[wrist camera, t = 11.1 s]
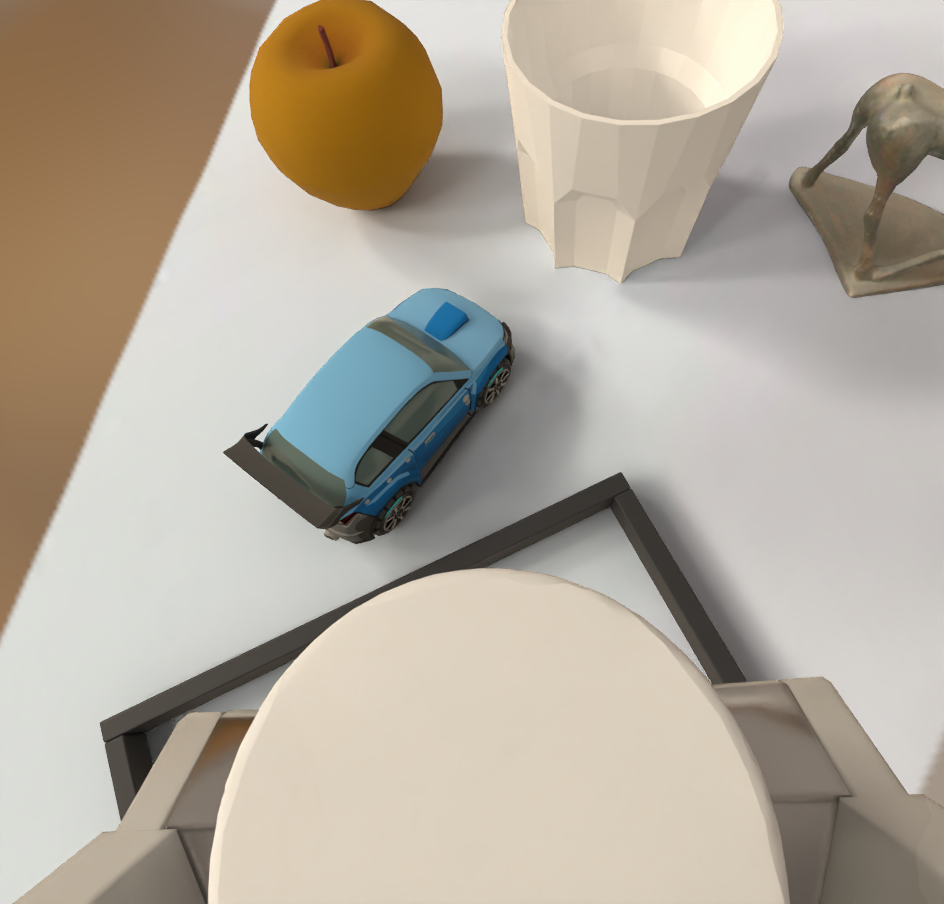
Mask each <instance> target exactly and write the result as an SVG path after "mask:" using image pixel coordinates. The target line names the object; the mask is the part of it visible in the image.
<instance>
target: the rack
mask: <svg viewBox="0 0 944 904" xmlns="http://www.w3.org/2000/svg"><path fill="white" fill-rule="evenodd" d="M610 506H611V509H612V511H613V513H614V515H615V516H616V518H617V520H618V522H619V523H620V525H621V527H622V528H623V530H624V532H625V534H626V535H627V537H628V539H629V541H630V542H631V544H632V546H633V547H634V549H635V551H636V553H637V554H638V556H639V558H640V560H641V561H642V563H643V565H644V566H645V568H646V570H647V572H648V573H649V575H650V577H651V579H652V580H653V582H654V584H655V585H656V587H657V589H658V591H659V592H660V594H661V596H662V598H663V599H664V601H665V603H666V604H667V606H668V608H669V610H670V611H671V613H672V615H673V617H674V618H675V620H676V622H677V623H678V625H679V627H680V629H681V630H682V632H683V634H684V636H685V637H686V639H687V641H688V642H689V644H690V646H691V648H692V649H693V651H694V653H695V655H696V656H697V658H698V660H699V661H700V663H701V665H702V667H703V668H704V670H705V672H706V674H707V675H708V677H709V679H710V680H711V682H712V684H724V683H739V682H747V681H746V679H745V677H744V676H743V674H742V672H741V671H740V669H739V667H738V666H737V664H736V662H735V661H734V659H733V657H732V656H731V654H730V652H729V651H728V649H727V647H726V646H725V644H724V642H723V641H722V639H721V637H720V636H719V634H718V632H717V631H716V629H715V627H714V626H713V624H712V622H711V621H710V619H709V617H708V616H707V614H706V612H705V611H704V609H703V607H702V606H701V604H700V602H699V601H698V599H697V597H696V596H695V594H694V592H693V591H692V589H691V587H690V586H689V584H688V582H687V581H686V579H685V577H684V576H683V574H682V572H681V571H680V569H679V567H678V566H677V564H676V562H675V561H674V559H673V557H672V556H671V554H670V552H669V551H668V549H667V547H666V546H665V544H664V542H663V541H662V539H661V537H660V536H659V534H658V532H657V531H656V529H655V527H654V526H653V524H652V522H651V521H650V519H649V517H648V516H647V514H646V512H645V511H644V509H643V507H642V506H641V504H640V502H639V501H638V499H637V497H636V496H635V494H634V492H633V491H632V489H630V486H629V484H628V482H627V481H626V479H625V477H624V476H623V474H622V473H621V472H620V473H618V474H616V475H614V476H612V477H609V478H607V479H605V480H603V481H601V482H599V483H597V484H595V485H593V486H591V487H589V488H587V489H584V490H582V491H580V492H578V493H576V494H574V495H572V496H570V497H568V498H566V499H564V500H562V501H559V502H557V503H555V504H553V505H551V506H549V507H547V508H545V509H543V510H541V511H539V512H537V513H535V514H532V515H530V516H528V517H526V518H524V519H522V520H520V521H518V522H516V523H514V524H512V525H510V526H507V527H505V528H503V529H501V530H499V531H497V532H495V533H493V534H491V535H489V536H487V537H485V538H482V539H480V540H478V541H476V542H474V543H472V544H470V545H468V546H466V547H464V548H462V549H460V550H458V551H455V552H453V553H451V554H449V555H447V556H445V557H443V558H441V559H439V560H437V561H435V562H433V563H430V564H428V565H426V566H424V567H422V568H420V569H418V570H416V571H414V572H412V573H410V574H408V575H406V576H403V577H401V578H399V579H397V580H395V581H393V582H391V583H389V584H387V585H385V586H383V587H381V588H378V589H376V590H374V591H372V592H370V593H368V594H366V595H364V596H362V597H360V598H358V599H356V600H353V601H351V602H349V603H347V604H345V605H343V606H341V607H339V608H337V609H335V610H333V611H331V612H329V613H326V614H324V615H322V616H320V617H318V618H316V619H314V620H312V621H310V622H308V623H306V624H304V625H301V626H299V627H297V628H295V629H293V630H291V631H289V632H287V633H285V634H283V635H281V636H279V637H276V638H274V639H272V640H270V641H268V642H266V643H264V644H262V645H260V646H258V647H256V648H254V649H252V650H249V651H247V652H245V653H243V654H241V655H239V656H237V657H235V658H233V659H231V660H229V661H227V662H224V663H222V664H220V665H218V666H216V667H214V668H212V669H210V670H208V671H206V672H204V673H202V674H199V675H197V676H195V677H193V678H191V679H189V680H187V681H185V682H183V683H181V684H179V685H177V686H175V687H172V688H170V689H168V690H166V691H164V692H162V693H160V694H158V695H156V696H154V697H152V698H150V699H147V700H145V701H143V702H141V703H139V704H137V705H135V706H133V707H131V708H129V709H127V710H125V711H122V712H120V713H118V714H116V715H114V716H112V717H110V718H108V719H106V720H104V721H102V722H100V726H101V731H102V736H103V740H104V742H107V743H106V744H105V748H106V753H107V758H108V762H109V767H110V772H111V777H112V781H113V786H114V791H115V795H116V800H117V805H118V810H119V814H120V819H121V821H122V819H123V817H124V816H125V814H126V812H127V810H128V809H129V807H130V805H131V804H132V802H133V800H134V798H135V797H136V795H137V793H138V791H139V790H140V788H141V786H142V784H143V783H144V781H145V779H146V777H147V776H148V774H149V772H150V770H151V769H152V767H153V765H152V761H151V757H150V753H149V749H148V744H147V740H146V736H145V734H144V732H146V731H148V730H150V729H152V728H154V727H156V726H158V725H160V724H163V723H165V722H167V721H169V720H171V719H173V718H175V717H177V716H179V715H181V714H183V713H185V712H187V711H189V710H191V709H193V708H196V707H198V706H200V705H202V704H204V703H206V702H208V701H210V700H212V699H214V698H216V697H218V696H220V695H222V694H224V693H227V692H229V691H231V690H233V689H235V688H237V687H239V686H241V685H243V684H245V683H247V682H249V681H251V680H253V679H255V678H257V677H260V676H262V675H264V674H266V673H268V672H270V671H272V670H274V669H276V668H278V667H280V666H282V665H284V664H286V663H288V662H290V661H293V660H295V659H297V658H298V656H299V655H300V654H301V653H302V652H303V651H304V650H305V649H306V648H307V647H308V646H309V645H310V644H311V643H312V642H313V641H314V640H315V639H316V638H317V637H319V636H320V635H321V634H322V633H323V632H324V631H325V630H327V629H328V628H329V627H330V626H331V625H332V624H334V623H335V622H336V621H338V620H339V619H340V618H342V617H343V616H345V615H346V614H347V613H349V612H350V611H351V610H353V609H354V608H356V607H358V606H360V605H362V604H364V603H365V602H367V601H369V600H371V599H372V598H374V597H376V596H378V595H379V594H381V593H384V592H386V591H389V590H391V589H393V588H396V587H398V586H401V585H403V584H406V583H408V582H411V581H414V580H417V579H421V578H424V577H427V576H430V575H434V574H439V573H445V572H452V571H459V570H468V569H477V568H484V567H487V566H489V565H491V564H493V563H495V562H497V561H499V560H501V559H503V558H505V557H507V556H509V555H511V554H513V553H515V552H518V551H520V550H522V549H524V548H526V547H528V546H530V545H532V544H534V543H536V542H538V541H540V540H542V539H544V538H546V537H548V536H551V535H553V534H555V533H557V532H559V531H561V530H563V529H565V528H567V527H569V526H571V525H573V524H575V523H577V522H579V521H581V520H584V519H586V518H588V517H590V516H592V515H594V514H596V513H598V512H600V511H602V510H604V509H606V508H608V507H610Z"/></svg>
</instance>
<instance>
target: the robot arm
mask: <svg viewBox="0 0 944 904" xmlns="http://www.w3.org/2000/svg"><path fill="white" fill-rule="evenodd" d="M711 685H712V686H713V687H714V689H715V690H716V692H717V693H718V695H719V696H720V697H721V699H722V700H723V702H724V703H725V705H726V706H727V707H728V709H729V710H730V712H731V713H732V715H733V717H734V718H735V720H736V722H737V724H738V725H739V727H740V729H741V731H742V732H743V734H744V736H745V738H746V740H747V742H748V744H749V746H750V748H751V750H752V752H753V754H754V756H755V758H756V760H757V762H758V764H759V767H760V769H761V772H762V775H763V778H764V781H765V783H766V786H767V789H768V792H769V795H770V798H771V802H772V805H773V809H774V812H775V815H776V819H777V822H778V826H779V831H780V835H781V840H782V846H783V853H784V859H785V866H786V872H787V879H788V890H789V900H790V904H944V807H942V806H941V805H939V804H938V803H936V802H935V801H933V800H932V799H930V798H928V797H927V796H925V795H924V794H910V795H909V794H908V793H907V791H906V790H905V789H904V787H903V786H902V784H901V783H900V781H899V780H898V778H897V777H896V776H895V774H894V773H893V771H892V770H891V768H890V767H889V765H888V764H887V763H886V761H885V760H884V758H883V757H882V755H881V754H880V752H879V751H878V750H877V748H876V747H875V745H874V744H873V742H872V741H871V739H870V738H869V736H868V735H867V734H866V732H865V731H864V729H863V728H862V726H861V725H860V723H859V722H858V721H857V719H856V718H855V716H854V715H853V713H852V712H851V710H850V709H849V708H848V706H847V705H846V703H845V702H844V700H843V699H842V697H841V696H840V695H839V693H838V692H837V690H836V689H835V687H834V686H833V684H832V683H831V682H830V681H828V680H827V679H825V678H824V677H809V678H795V679H781V680H779V681H776V680H770V681H754V682H739V683H724V684H711ZM258 711H259V710H231V711H227V712H191V713H189V714H187V715H186V716H185V717H183V718H182V719H181V720H180V721H179V722H178V723H177V725H176V727H175V729H174V730H173V732H172V734H171V736H170V737H169V739H168V741H167V743H166V744H165V746H164V748H163V750H162V751H161V753H160V755H159V756H158V758H157V760H156V762H155V763H154V765H153V767H152V769H151V770H150V772H149V774H148V776H147V777H146V779H145V781H144V783H143V784H142V786H141V788H140V790H139V791H138V793H137V795H136V797H135V798H134V800H133V802H132V804H131V805H130V807H129V809H128V810H127V812H126V814H125V816H124V817H123V819H122V821H121V823H120V824H119V826H118V828H117V830H116V831H112V832H103V833H101V834H100V835H99V836H97V837H96V838H95V839H94V840H92V841H91V842H90V843H89V844H87V845H86V846H85V847H84V848H82V849H81V850H80V851H79V852H77V853H76V854H75V855H74V856H72V857H71V858H70V859H68V860H67V861H66V862H65V863H63V864H62V865H61V866H60V867H58V868H57V869H56V870H55V871H53V872H52V873H51V874H50V875H48V876H47V877H46V878H45V879H43V880H42V881H41V882H39V883H38V884H37V885H36V886H34V887H33V888H32V889H31V890H29V891H28V892H27V893H26V894H24V895H23V896H22V897H21V898H19V899H18V900H17V901H16V902H14V903H13V904H208V886H209V870H210V857H211V852H212V846H213V841H214V835H215V829H216V823H217V816H218V812H219V808H220V805H221V800H222V797H223V794H224V792H225V784H226V782H227V779H228V777H229V774H230V771H231V769H232V766H233V763H234V761H235V758H236V755H237V753H238V750H239V747H240V745H241V743H242V741H243V739H244V737H245V735H246V733H247V731H248V730H249V728H250V726H251V724H252V722H253V720H254V718H255V717H256V715H257V713H258Z"/></svg>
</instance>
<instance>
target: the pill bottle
mask: <svg viewBox="0 0 944 904" xmlns="http://www.w3.org/2000/svg"><path fill="white" fill-rule="evenodd" d="M208 904H790V900H789V890H788V879H787V872H786V866H785V859H784V853H783V846H782V840H781V835H780V831H779V826H778V822H777V819H776V815H775V812H774V809H773V805H772V802H771V798H770V795H769V792H768V789H767V786H766V783H765V781H764V778H763V775H762V772H761V769H760V767H759V764H758V762H757V760H756V758H755V756H754V754H753V752H752V750H751V748H750V746H749V744H748V742H747V740H746V738H745V736H744V734H743V732H742V731H741V729H740V727H739V725H738V724H737V722H736V720H735V718H734V717H733V715H732V713H731V712H730V710H729V709H728V707H727V706H726V705H725V703H724V702H723V700H722V699H721V697H720V696H719V695H718V693H717V692H716V690H715V689H714V687H713V686H712V685H711V683H710V682H709V680H708V679H707V677H706V676H705V675H704V674H703V673H702V672H701V671H700V670H699V669H698V668H697V666H696V665H695V664H694V663H693V662H692V661H691V660H690V659H689V658H688V657H687V656H686V655H685V654H684V653H683V652H682V651H681V650H680V649H679V648H678V647H677V646H676V645H675V644H674V643H673V642H672V641H670V640H669V639H668V638H667V637H666V636H665V635H664V634H663V633H661V632H660V631H659V630H658V629H656V628H655V627H654V626H653V625H651V624H650V623H649V622H647V621H646V620H645V619H644V618H642V617H641V616H639V615H638V614H636V613H635V612H633V611H631V610H630V609H628V608H626V607H625V606H623V605H621V604H620V603H618V602H616V601H615V600H613V599H611V598H609V597H607V596H605V595H603V594H601V593H599V592H596V591H594V590H591V589H589V588H586V587H584V586H581V585H579V584H576V583H573V582H570V581H567V580H564V579H561V578H558V577H554V576H550V575H546V574H541V573H537V572H529V571H520V570H512V569H496V568H477V569H468V570H459V571H452V572H445V573H439V574H434V575H430V576H427V577H424V578H421V579H417V580H414V581H411V582H408V583H406V584H403V585H401V586H398V587H396V588H393V589H391V590H389V591H386V592H384V593H381V594H379V595H378V596H376V597H374V598H372V599H371V600H369V601H367V602H365V603H364V604H362V605H360V606H358V607H356V608H354V609H353V610H351V611H350V612H349V613H347V614H346V615H345V616H343V617H342V618H340V619H339V620H338V621H336V622H335V623H334V624H332V625H331V626H330V627H329V628H328V629H327V630H325V631H324V632H323V633H322V634H321V635H320V636H319V637H317V638H316V639H315V640H314V641H313V642H312V643H311V644H310V645H309V646H308V647H307V648H306V649H305V650H304V651H303V652H302V653H301V654H300V655H299V656H298V658H297V659H296V660H295V661H294V662H293V663H292V664H291V665H290V666H289V668H288V669H287V670H286V671H285V672H284V674H283V675H282V676H281V677H280V679H279V680H278V681H277V682H276V684H275V685H274V686H273V688H272V690H271V691H270V693H269V694H268V696H267V697H266V699H265V701H264V702H263V704H262V706H261V707H260V709H259V711H258V713H257V715H256V717H255V718H254V720H253V722H252V724H251V726H250V728H249V730H248V731H247V733H246V735H245V737H244V739H243V741H242V743H241V745H240V747H239V750H238V753H237V755H236V758H235V761H234V763H233V766H232V769H231V771H230V774H229V777H228V779H227V782H226V784H225V792H224V794H223V797H222V800H221V805H220V808H219V812H218V816H217V823H216V829H215V835H214V841H213V846H212V852H211V857H210V870H209V886H208Z"/></svg>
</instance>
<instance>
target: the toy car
mask: <svg viewBox="0 0 944 904" xmlns="http://www.w3.org/2000/svg"><path fill="white" fill-rule="evenodd" d="M514 358H515V351H514V347H513V345H512V338H511V331H510V329H509V327H508V326H507V325H506V324H505V322H502V323H501V321H499V320H498V319H496V318H495V317H494V316H492V315H491V314H490V313H488V312H487V311H486V310H484V309H483V308H481V307H479V306H478V305H476V304H475V303H473V302H471V301H470V300H468V299H466V298H464V297H462V296H460V295H458V294H456V293H454V292H452V291H449V290H448V289H439V288H429V289H422V290H420V291H418V292H417V293H415V294H414V295H412V296H411V297H409V298H408V299H406V300H405V301H403V302H402V303H401V304H399V305H398V306H397V307H396V308H395V309H394V310H393V311H392V312H390V313H389V314H387V315H386V316H382V317H379V318H377V319H375V320H373V321H371V322H370V323H368V324H367V325H366V326H365V327H364V328H363V329H361V330H360V331H358V332H357V333H356V334H354V335H353V336H352V337H351V338H350V339H349V340H348V341H347V342H346V343H345V344H344V345H343V346H342V347H341V348H340V349H339V350H338V351H337V352H336V353H335V354H334V355H333V356H332V357H331V358H330V359H329V360H328V362H327V363H326V364H325V365H324V366H323V367H322V368H321V369H320V370H319V371H318V372H317V374H316V375H315V376H314V377H313V378H312V379H311V380H310V382H309V383H308V384H307V385H306V387H305V388H304V389H303V390H302V392H301V393H300V394H299V395H298V397H297V398H296V399H295V400H294V402H293V403H292V405H291V406H290V407H289V409H288V410H287V411H286V413H285V414H284V415H283V416H282V417H281V418H280V419H279V420H278V421H277V422H276V423H275V425H274V426H273V427H272V428H271V429H270V431H269V432H268V434H267V436H266V438H265V440H264V442H260V441H258V440H255V438H256V437H257V436H258V435H259V434H260V433H261V432H262V431H263V430H264V429H265V428H266V426H267V425H268V424H265V425H264V426H262V427H261V428H260V429H258V430H255V431H252V432H249V433H246V434H245V435H244V436H243V437H242V438H241V440H240V441H239V442H238V443H237V444H235V445H234V446H232V447H231V448H229V449H227V450H225V451H224V452H223V453H224V454H225V455H226V456H228V457H229V458H230V459H231V460H232V461H233V462H235V463H236V464H237V465H238V466H239V467H241V468H242V469H243V470H244V471H246V472H247V473H248V474H249V475H250V476H252V477H253V478H254V479H255V480H257V481H258V482H259V483H260V484H262V485H263V486H264V487H265V488H267V489H268V490H269V491H270V492H272V493H273V494H274V495H275V496H277V498H278V499H280V500H282V501H283V502H284V503H285V504H287V505H288V506H289V507H290V508H292V509H293V510H294V511H295V512H297V513H298V514H299V515H301V516H302V517H303V518H305V519H306V520H307V521H308V522H310V523H311V524H312V525H314V526H315V527H316V528H320V529H326V531H325V533H324V535H325V536H326V537H327V538H329V539H332V540H335V541H336V540H338V539H339V537H341V538H343V539H345V540H347V541H350V542H352V543H355V544H358V543H362V542H366V541H370V540H372V539H375V537H374V535H373V533H374V534H375V535H378V536H381V535H385V534H386V533H388V532H390V531H391V530H393V529H394V528H395V527H396V526H397V525H398V524H399V523H400V522H401V521H402V520H403V518H404V517H405V516H406V514H407V513H408V511H409V509H410V507H411V505H412V503H413V500H414V497H415V490H414V487H413V486H411V485H410V483H415V484H416V485H418V486H419V487H421V486H422V485H423V483H424V482H425V481H426V479H427V478H428V477H429V475H430V474H431V473H432V471H433V470H434V469H435V467H436V466H437V465H438V463H439V462H440V461H441V459H442V458H443V457H444V455H445V454H446V453H447V451H448V450H449V449H450V447H451V446H452V445H453V443H454V442H455V441H456V439H457V438H458V437H459V435H460V434H461V432H462V431H463V430H464V428H465V427H466V426H467V424H468V423H469V422H470V420H471V419H472V418H473V416H474V415H475V414H476V412H477V411H476V408H484V407H486V406H488V405H489V404H491V403H492V402H493V401H494V400H495V399H496V398H497V397H498V396H499V394H500V393H501V391H502V390H503V388H504V386H505V384H506V383H507V380H508V378H509V375H510V370H511V366H512V363H513V360H514ZM254 447H258V448H259V449H260V453H259V452H258V451H257V450H256V449H255V448H254Z"/></svg>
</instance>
